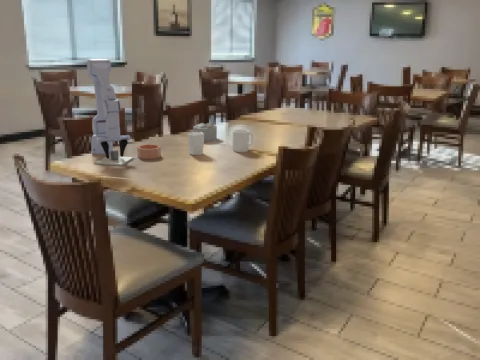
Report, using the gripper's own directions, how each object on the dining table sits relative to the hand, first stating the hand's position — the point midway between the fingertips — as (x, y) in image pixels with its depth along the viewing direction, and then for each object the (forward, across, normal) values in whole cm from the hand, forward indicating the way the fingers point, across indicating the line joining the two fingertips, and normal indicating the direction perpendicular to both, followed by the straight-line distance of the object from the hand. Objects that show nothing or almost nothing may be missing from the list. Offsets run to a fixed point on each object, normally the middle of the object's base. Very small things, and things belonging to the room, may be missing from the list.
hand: (114, 157), depth 203 cm
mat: (+2, 0, 0) cm, 2 cm away
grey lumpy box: (+3, +60, +24) cm, 64 cm away
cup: (+3, +64, -8) cm, 65 cm away
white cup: (+3, +40, -3) cm, 40 cm away
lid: (+2, 0, 0) cm, 2 cm away
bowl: (+2, +17, +1) cm, 17 cm away
